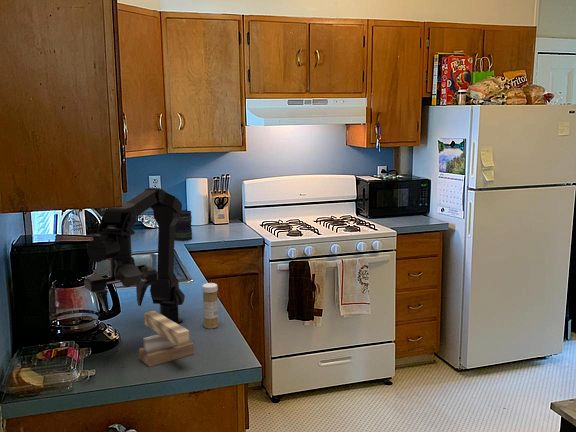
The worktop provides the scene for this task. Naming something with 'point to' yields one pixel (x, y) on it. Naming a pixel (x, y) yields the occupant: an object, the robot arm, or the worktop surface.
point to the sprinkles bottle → (210, 305)
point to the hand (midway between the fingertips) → (123, 309)
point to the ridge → (162, 350)
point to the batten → (167, 328)
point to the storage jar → (183, 227)
